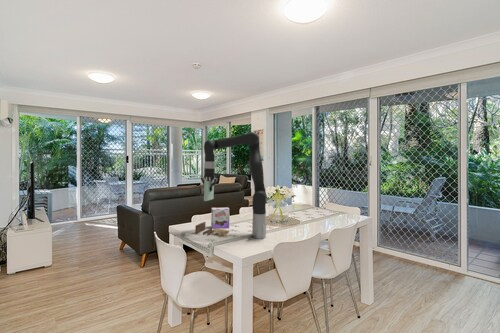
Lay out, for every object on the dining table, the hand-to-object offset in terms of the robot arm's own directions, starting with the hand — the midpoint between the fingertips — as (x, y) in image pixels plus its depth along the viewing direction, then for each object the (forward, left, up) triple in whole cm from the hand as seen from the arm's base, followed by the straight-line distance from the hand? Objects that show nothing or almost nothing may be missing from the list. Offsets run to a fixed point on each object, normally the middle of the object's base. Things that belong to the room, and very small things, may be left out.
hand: (209, 191), depth 206 cm
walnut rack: (0, +3, -31) cm, 31 cm away
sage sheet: (0, 0, -6) cm, 6 cm away
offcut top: (-12, +3, -28) cm, 31 cm away
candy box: (-3, -14, -31) cm, 34 cm away
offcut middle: (-12, +3, -30) cm, 33 cm away
